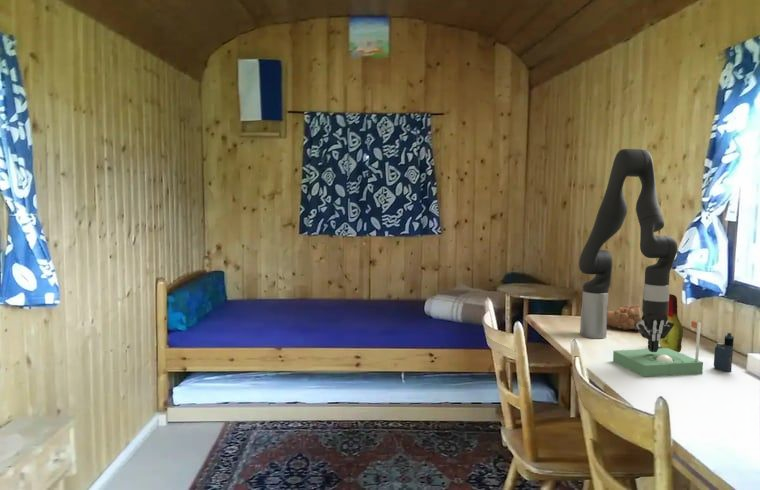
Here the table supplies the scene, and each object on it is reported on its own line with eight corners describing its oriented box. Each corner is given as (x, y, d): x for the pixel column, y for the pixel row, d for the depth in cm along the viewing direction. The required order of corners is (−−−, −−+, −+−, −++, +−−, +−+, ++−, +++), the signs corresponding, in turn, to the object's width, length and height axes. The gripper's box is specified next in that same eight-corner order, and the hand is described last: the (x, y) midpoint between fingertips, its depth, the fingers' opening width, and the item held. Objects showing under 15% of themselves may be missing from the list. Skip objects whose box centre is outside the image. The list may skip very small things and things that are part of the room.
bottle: (653, 345, 207) (656, 291, 205) (672, 346, 206) (675, 291, 204) (665, 355, 195) (668, 297, 193) (685, 355, 194) (688, 298, 192)
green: (613, 361, 188) (615, 314, 186) (666, 358, 191) (669, 312, 190) (644, 377, 172) (647, 326, 170) (702, 373, 176) (705, 324, 174)
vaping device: (728, 372, 177) (731, 334, 175) (711, 367, 181) (714, 330, 180) (733, 371, 178) (736, 333, 177) (716, 366, 182) (719, 330, 181)
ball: (663, 371, 175) (653, 371, 179) (678, 370, 176) (667, 370, 180) (660, 354, 176) (650, 355, 180) (675, 353, 177) (664, 354, 181)
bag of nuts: (620, 343, 224) (655, 330, 225) (614, 318, 222) (649, 305, 224) (596, 330, 242) (627, 318, 244) (590, 306, 241) (622, 295, 242)
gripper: (666, 295, 186) (663, 347, 188) (629, 296, 184) (627, 349, 186) (682, 299, 179) (679, 353, 181) (644, 301, 177) (641, 355, 178)
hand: (652, 351), depth 183 cm, fingers closed
